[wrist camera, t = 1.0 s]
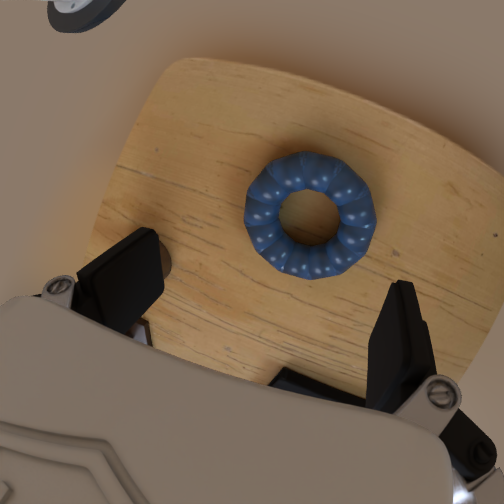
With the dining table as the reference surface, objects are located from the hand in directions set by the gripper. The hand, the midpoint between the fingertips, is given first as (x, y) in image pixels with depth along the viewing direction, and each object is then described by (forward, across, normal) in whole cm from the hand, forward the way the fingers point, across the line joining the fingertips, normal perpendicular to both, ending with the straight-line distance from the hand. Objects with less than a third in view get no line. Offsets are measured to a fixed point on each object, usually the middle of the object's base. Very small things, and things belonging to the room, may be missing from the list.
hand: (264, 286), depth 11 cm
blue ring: (+14, 0, +3) cm, 14 cm away
